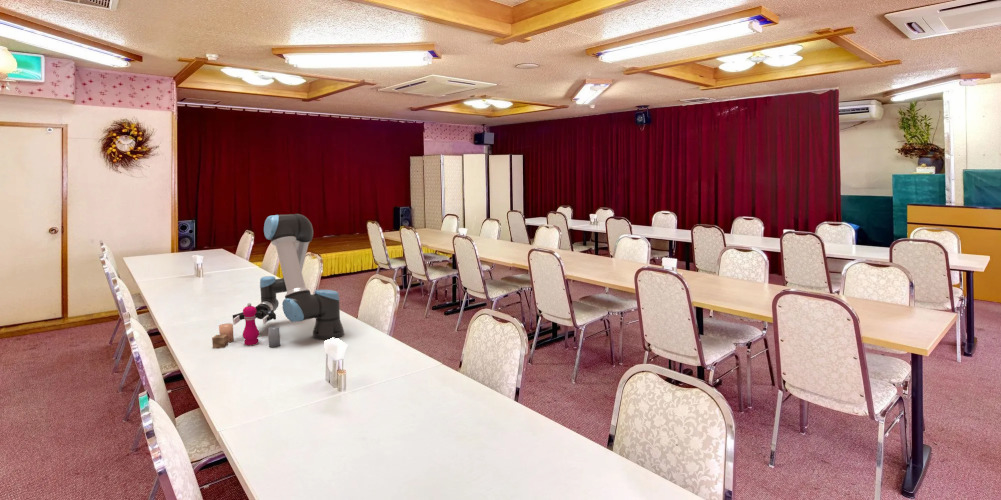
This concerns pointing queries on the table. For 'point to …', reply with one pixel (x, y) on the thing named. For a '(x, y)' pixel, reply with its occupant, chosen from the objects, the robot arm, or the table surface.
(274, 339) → the charcoal salt shaker
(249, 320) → the pepper mill
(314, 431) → the table surface
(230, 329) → the peach round cylinder
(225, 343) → the walnut block
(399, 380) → the table surface
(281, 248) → the robot arm
